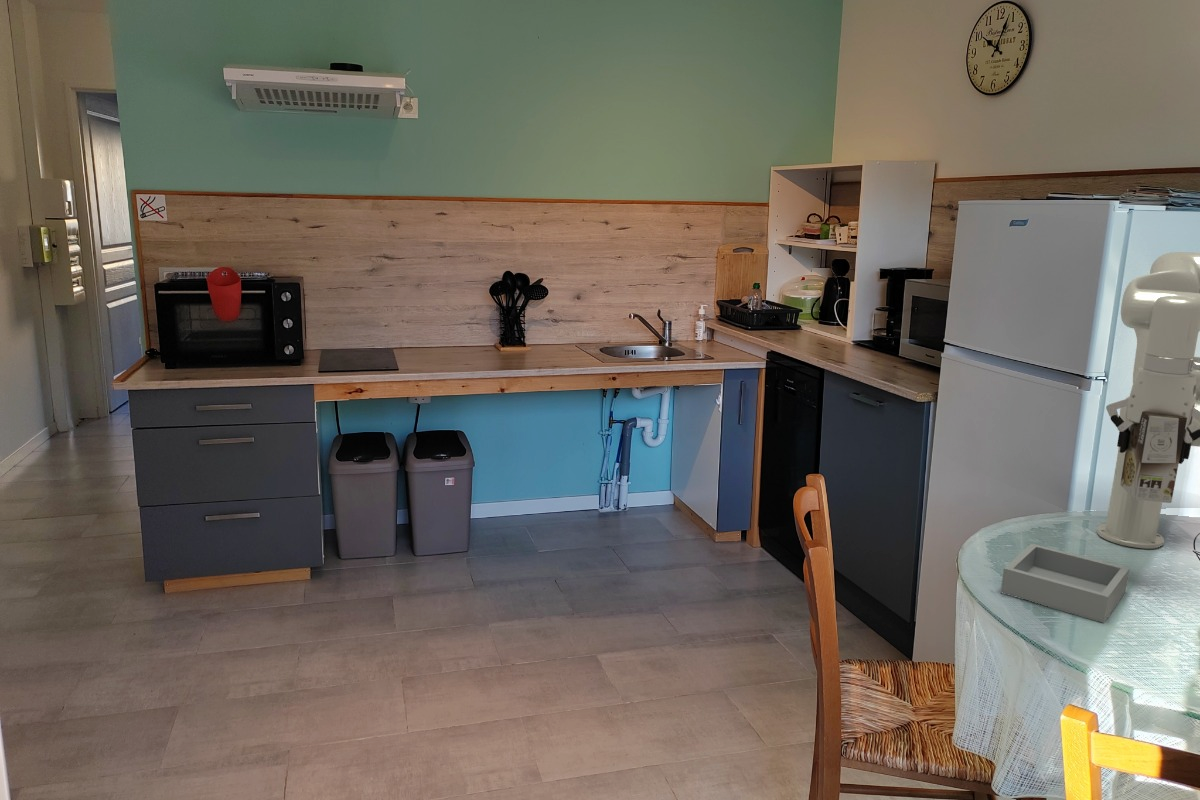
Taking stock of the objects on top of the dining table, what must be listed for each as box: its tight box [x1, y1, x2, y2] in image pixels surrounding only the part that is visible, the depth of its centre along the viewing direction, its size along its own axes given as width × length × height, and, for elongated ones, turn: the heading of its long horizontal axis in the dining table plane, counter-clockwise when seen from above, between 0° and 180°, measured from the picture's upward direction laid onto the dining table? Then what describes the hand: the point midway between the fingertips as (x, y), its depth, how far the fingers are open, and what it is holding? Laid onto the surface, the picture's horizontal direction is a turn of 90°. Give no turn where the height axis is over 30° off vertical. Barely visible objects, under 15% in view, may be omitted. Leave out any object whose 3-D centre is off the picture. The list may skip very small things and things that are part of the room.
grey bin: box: [1000, 543, 1130, 624], centre depth 166 cm, size 17×17×5 cm
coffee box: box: [1120, 411, 1187, 504], centre depth 167 cm, size 9×6×16 cm
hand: (1151, 456), depth 168 cm, fingers closed on coffee box, 8 cm apart
